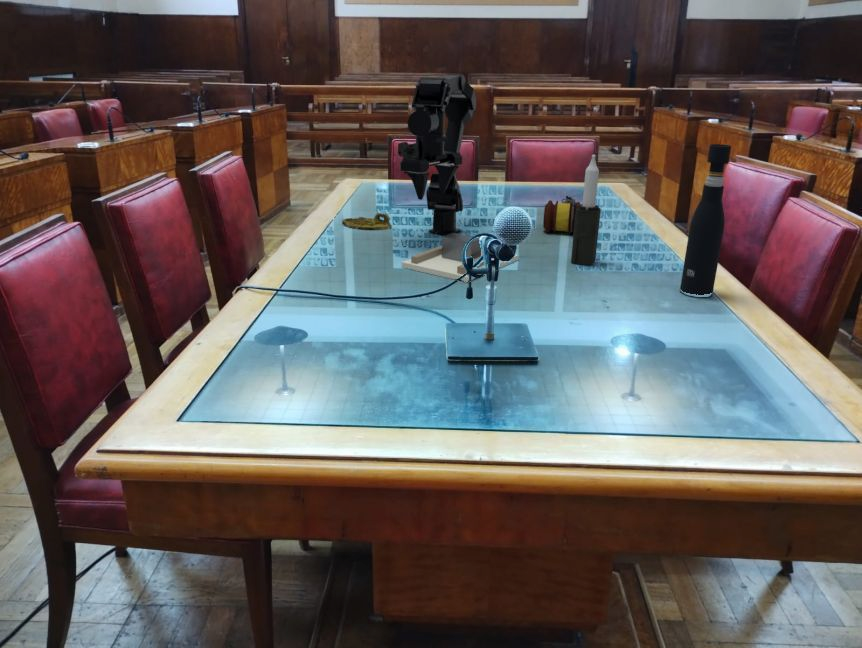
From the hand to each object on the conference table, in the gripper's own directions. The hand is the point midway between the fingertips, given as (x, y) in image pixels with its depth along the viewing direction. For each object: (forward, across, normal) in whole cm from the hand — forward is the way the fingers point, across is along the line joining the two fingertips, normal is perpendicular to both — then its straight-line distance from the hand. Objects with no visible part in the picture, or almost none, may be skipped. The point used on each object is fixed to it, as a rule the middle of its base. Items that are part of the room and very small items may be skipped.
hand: (431, 196), depth 173 cm
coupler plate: (+12, +10, +16) cm, 22 cm away
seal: (+13, -4, -25) cm, 28 cm away
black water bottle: (+12, -3, +66) cm, 67 cm away
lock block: (+11, +10, +16) cm, 22 cm away
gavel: (+12, -42, +17) cm, 47 cm away
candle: (+12, -9, +38) cm, 41 cm away
